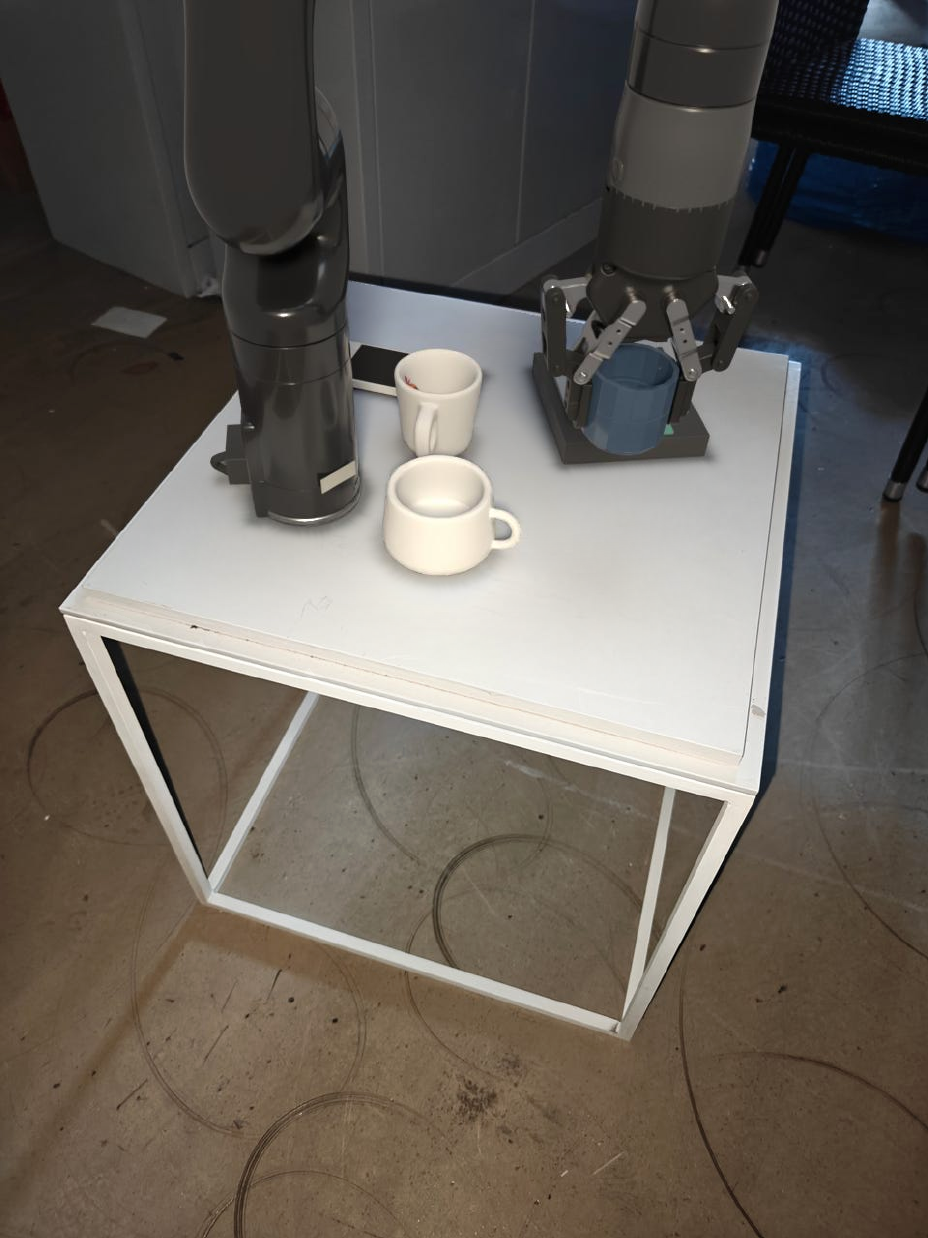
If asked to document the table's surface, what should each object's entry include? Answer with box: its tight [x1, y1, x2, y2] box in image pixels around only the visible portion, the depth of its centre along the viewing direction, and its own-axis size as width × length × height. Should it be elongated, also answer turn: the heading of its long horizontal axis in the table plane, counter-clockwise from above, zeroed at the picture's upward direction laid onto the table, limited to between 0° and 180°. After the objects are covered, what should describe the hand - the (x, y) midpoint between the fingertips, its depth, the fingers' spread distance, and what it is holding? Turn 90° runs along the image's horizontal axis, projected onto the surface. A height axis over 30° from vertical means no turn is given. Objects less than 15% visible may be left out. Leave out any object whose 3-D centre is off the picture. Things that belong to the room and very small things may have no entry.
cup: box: [394, 348, 483, 458], centre depth 83 cm, size 11×8×8 cm
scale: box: [531, 345, 711, 465], centre depth 90 cm, size 14×16×3 cm
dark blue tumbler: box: [581, 342, 680, 455], centre depth 62 cm, size 6×6×6 cm
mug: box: [382, 455, 522, 577], centre depth 75 cm, size 12×10×6 cm
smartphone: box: [350, 340, 413, 397], centre depth 93 cm, size 7×15×1 cm, turn 73°
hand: (623, 419), depth 64 cm, fingers closed on dark blue tumbler, 6 cm apart
